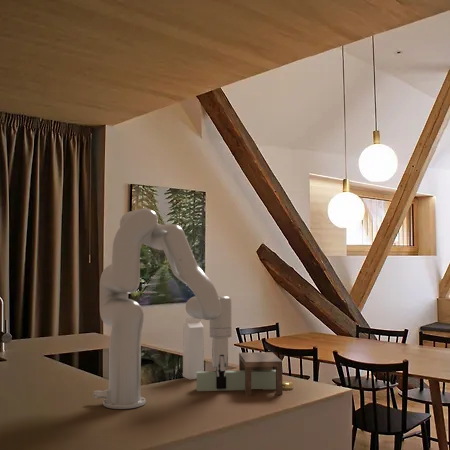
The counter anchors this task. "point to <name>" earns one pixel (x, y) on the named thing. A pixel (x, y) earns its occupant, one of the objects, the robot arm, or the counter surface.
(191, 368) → the milk
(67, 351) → the counter surface
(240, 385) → the slat
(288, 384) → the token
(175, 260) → the robot arm
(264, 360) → the brown wooden stool
